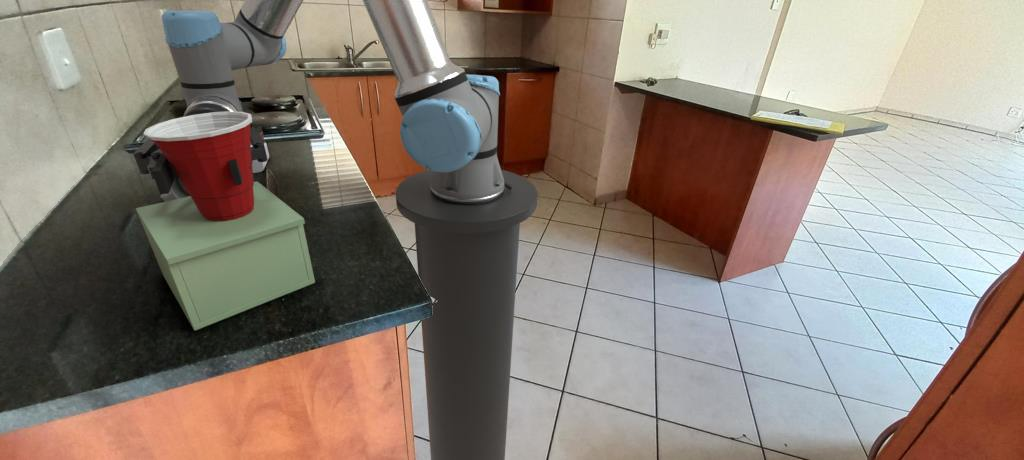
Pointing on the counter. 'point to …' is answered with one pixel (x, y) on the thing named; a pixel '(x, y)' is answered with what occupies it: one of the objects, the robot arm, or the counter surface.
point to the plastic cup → (210, 160)
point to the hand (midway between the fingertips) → (199, 178)
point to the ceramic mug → (175, 191)
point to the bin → (238, 275)
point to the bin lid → (213, 225)
